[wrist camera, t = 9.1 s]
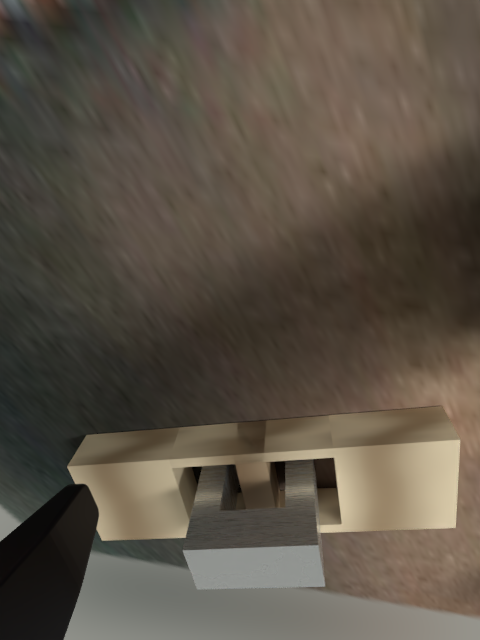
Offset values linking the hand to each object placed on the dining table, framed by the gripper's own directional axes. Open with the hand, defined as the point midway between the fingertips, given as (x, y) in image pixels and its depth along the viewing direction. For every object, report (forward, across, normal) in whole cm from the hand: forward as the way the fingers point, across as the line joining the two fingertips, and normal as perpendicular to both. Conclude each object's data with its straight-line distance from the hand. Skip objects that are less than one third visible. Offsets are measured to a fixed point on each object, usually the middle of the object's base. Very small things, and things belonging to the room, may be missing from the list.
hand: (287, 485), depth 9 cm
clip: (+12, +3, +11) cm, 16 cm away
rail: (+12, +3, +11) cm, 17 cm away
